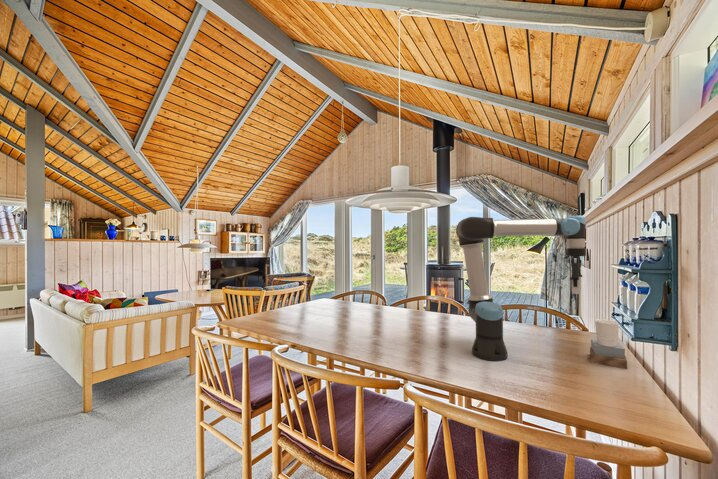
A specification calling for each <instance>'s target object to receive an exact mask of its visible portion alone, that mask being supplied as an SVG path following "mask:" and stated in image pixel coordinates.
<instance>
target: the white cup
mask: <svg viewBox="0 0 718 479" xmlns="http://www.w3.org/2000/svg"><path fill="white" fill-rule="evenodd" d="M594 324H595V327H594V328H595V335H596V336H595V337H596V340H597V344H599V345H602V346H607V347H616V346H617V342H618V338H619V337H618V336H619V335H618V334H619V322H618V321H615V320H612V319H611V320H610V319H605V318H604V319H603V318H598V319H597V318H596V319H595V320H594Z"/></svg>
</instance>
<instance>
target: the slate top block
mask: <svg viewBox="0 0 718 479" xmlns="http://www.w3.org/2000/svg"><path fill="white" fill-rule="evenodd" d="M590 347H591V348H592V350H593V352H594V354H595V355H601V356H608V357H616V358H623V359H625V356H626V351H625V350H626V349H625V348H624V346H623V345H622V344H621V342H620V341H617V346H616V347H607V346H602V345H599V344H597V338H595V339H594V338H590Z"/></svg>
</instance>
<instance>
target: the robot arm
mask: <svg viewBox="0 0 718 479" xmlns="http://www.w3.org/2000/svg"><path fill="white" fill-rule="evenodd" d="M586 226H587V224H586V217H585V216H583V215H569V216H567V217H565V218H525V219H523V218H522V219H521V218H520V219H495V218H494V217H480V216H469V217H466V218H463V219H461V220H460V221H459V222H458V224H457V225H456V226H455V227H456V229H455V232H456V236H457V238H458V244H459V247H460V248H462V250H463V254H464V262H465V263H464V264H465V268H466V274H467V282H468V287H469V294H470V295H469V296H468V298H467V301H468V315H469V317H470V318H471V320H473V322H474V323H475V338H474V342H473V343H472V344H473V345H472V348H471V353H472V355H473V356H475V357H476V358H479V359H481V360H486V361H492V362H496V361H497V362H499V361H505V360H507V359H508V349H507V346H506V344H505V342H504V310H503V306H502V305H501V304H499V303H496V302H494V299H493V296H492V295H491V294H490V292H489V290H488V283H487V277H486V276H487V275H486V270H485V264H484V263H485V262H484V257H483V251H482V245H484V240H485V239H487V240H488V239H494V238H495V237H516V236H517V237H523V236H525V237H527V236H528V237H529V236H536V237H537V236H543V237H545V236H546V237H551V236H552V237H555V236H559V237H560V236H564V237H565V236H566V256H568V257H572V258H571V259H570V265H571V276H570V278H569V280H571V294H572V295H580V291H582V278H583V275H582V273H581V271H582V270H581V268H582V259H581V257H585V256H587V249H586V248H585V247H586V244H587V243H588V241H587V240H586Z"/></svg>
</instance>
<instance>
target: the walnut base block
mask: <svg viewBox="0 0 718 479" xmlns="http://www.w3.org/2000/svg"><path fill="white" fill-rule="evenodd" d="M589 358H590V360H589V361H590V362H589V363H592V364H597V365H603V366H608V367H614V368H620V369H625V370H628V359H627V357H626V355H625V359H623V358H616V357H608V356H601V355H595V354H594V352H593V350H592V348H591V346H590V347H589Z"/></svg>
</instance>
